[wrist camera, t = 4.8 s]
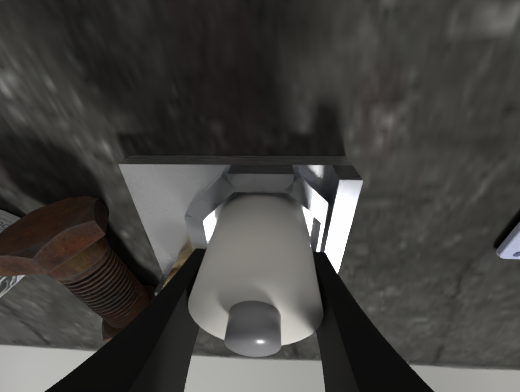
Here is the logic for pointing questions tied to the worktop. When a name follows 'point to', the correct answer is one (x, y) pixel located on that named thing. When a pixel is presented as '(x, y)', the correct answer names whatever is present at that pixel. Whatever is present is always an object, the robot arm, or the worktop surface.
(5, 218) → the light bulb box
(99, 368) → the robot arm
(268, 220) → the white knobbed cylinder
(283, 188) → the carrier
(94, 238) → the bolt
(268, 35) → the worktop surface
